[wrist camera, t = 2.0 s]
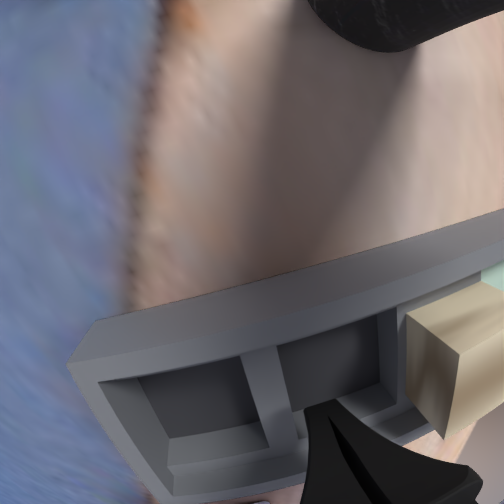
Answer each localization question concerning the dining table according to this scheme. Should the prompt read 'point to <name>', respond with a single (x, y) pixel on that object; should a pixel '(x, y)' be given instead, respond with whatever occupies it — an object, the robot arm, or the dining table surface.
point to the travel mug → (399, 19)
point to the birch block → (456, 357)
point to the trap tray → (272, 363)
